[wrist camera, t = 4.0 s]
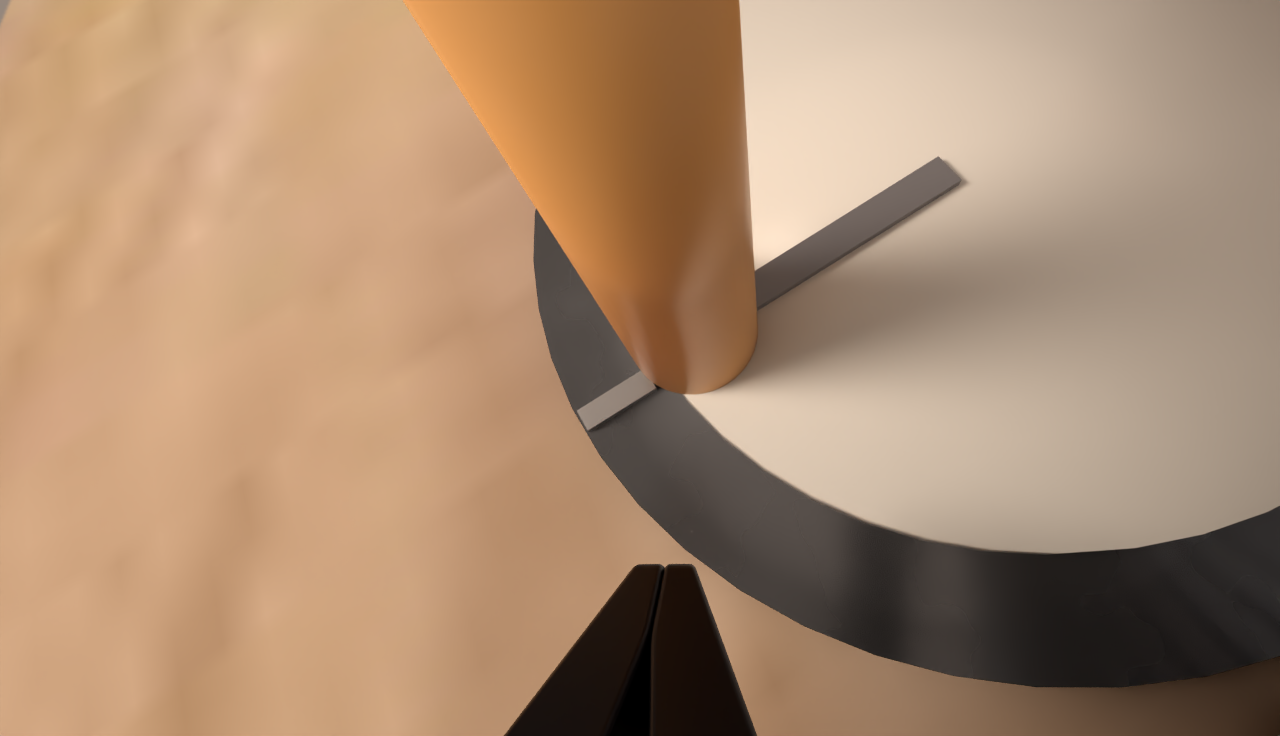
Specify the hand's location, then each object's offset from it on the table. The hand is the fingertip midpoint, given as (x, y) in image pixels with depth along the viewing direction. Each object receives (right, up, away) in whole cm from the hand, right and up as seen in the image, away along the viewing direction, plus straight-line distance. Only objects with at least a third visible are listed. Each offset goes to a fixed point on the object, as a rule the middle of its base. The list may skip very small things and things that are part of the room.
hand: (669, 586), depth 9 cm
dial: (+8, +8, +7) cm, 13 cm away
